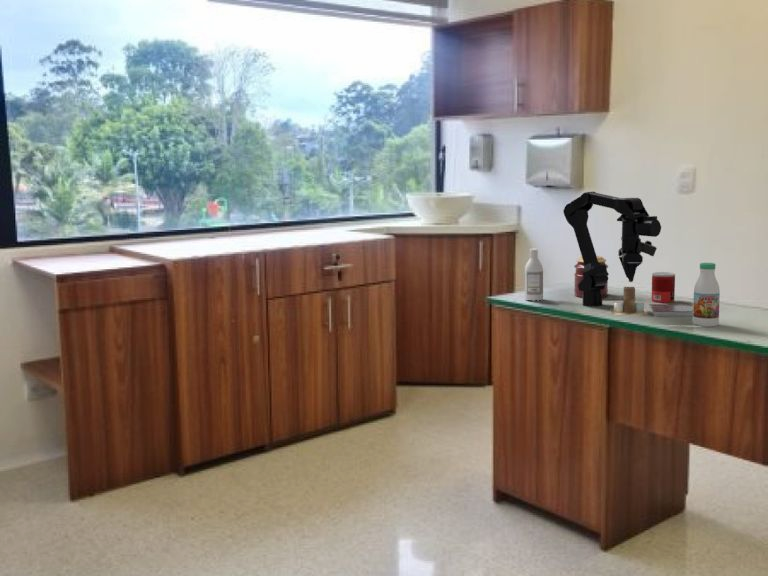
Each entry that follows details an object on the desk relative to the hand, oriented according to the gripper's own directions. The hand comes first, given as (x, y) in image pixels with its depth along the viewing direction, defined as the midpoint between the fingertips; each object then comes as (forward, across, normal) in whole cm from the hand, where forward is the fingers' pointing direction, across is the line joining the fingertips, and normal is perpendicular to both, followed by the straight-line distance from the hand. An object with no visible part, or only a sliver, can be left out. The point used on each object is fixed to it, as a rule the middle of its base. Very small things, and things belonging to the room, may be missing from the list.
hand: (629, 279), depth 267 cm
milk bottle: (+12, -17, -22) cm, 30 cm away
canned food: (+12, +20, -14) cm, 27 cm away
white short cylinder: (+11, 0, +3) cm, 12 cm away
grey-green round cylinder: (+11, 0, -3) cm, 12 cm away
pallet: (+12, 0, 0) cm, 13 cm away
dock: (+12, 0, -14) cm, 18 cm away
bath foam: (+12, +25, +33) cm, 43 cm away
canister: (+12, +35, +11) cm, 39 cm away
